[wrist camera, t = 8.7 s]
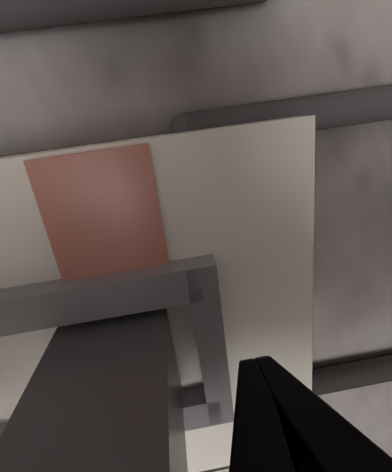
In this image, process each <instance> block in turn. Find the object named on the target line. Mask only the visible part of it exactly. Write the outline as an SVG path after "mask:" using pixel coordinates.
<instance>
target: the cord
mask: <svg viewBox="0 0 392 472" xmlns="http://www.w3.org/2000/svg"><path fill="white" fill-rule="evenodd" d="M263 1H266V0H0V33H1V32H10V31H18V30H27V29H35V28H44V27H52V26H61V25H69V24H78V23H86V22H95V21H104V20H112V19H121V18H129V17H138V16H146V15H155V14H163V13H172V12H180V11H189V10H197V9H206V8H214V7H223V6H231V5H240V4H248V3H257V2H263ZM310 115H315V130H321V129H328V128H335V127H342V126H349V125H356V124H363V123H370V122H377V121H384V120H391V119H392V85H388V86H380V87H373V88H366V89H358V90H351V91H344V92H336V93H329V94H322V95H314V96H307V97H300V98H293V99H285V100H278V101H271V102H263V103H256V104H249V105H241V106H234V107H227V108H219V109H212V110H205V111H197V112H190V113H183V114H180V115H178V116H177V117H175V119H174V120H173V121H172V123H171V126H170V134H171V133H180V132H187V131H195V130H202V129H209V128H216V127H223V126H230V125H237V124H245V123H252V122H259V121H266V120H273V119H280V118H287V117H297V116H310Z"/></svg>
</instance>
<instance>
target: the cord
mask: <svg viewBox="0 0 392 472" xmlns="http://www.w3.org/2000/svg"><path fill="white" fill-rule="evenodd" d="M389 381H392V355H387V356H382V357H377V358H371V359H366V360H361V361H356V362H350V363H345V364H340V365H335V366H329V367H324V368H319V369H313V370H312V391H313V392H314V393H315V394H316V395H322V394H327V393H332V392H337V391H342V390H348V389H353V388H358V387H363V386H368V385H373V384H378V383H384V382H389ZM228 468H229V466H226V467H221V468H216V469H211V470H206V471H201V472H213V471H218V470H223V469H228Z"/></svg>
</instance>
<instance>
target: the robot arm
mask: <svg viewBox="0 0 392 472" xmlns="http://www.w3.org/2000/svg"><path fill="white" fill-rule="evenodd" d="M229 472H392V458H391V457H390V456H389V455H388V454H387V453H385V452H384V451H383V450H382V449H381V448H379V447H378V446H377V445H376V444H375V443H373V442H372V441H371V440H370V439H369V438H367V437H366V436H365V435H364V434H363V433H361V432H360V431H359V430H358V429H357V428H355V427H354V426H353V425H352V424H351V423H350V422H348V421H347V420H346V419H345V418H344V417H342V416H341V415H340V414H339V413H338V412H336V411H335V410H334V409H333V408H332V407H330V406H329V405H328V404H327V403H326V402H324V401H323V400H322V399H321V398H320V397H318V396H317V395H316V394H315V393H314V392H313V391H311V390H310V389H309V388H308V387H307V386H305V385H304V384H303V383H302V382H301V381H299V380H298V379H297V378H296V377H295V376H293V375H292V374H291V373H290V372H289V371H287V370H286V369H285V368H284V367H283V366H281V365H280V364H279V363H278V362H277V361H275V360H274V359H273V358H272V357H271V356H268V355H267V356H261V357H256V358H255V359H254V358H250V359H245V360H240V361H239V367H238V378H237V389H236V400H235V411H234V422H233V433H232V444H231V455H230V466H229Z"/></svg>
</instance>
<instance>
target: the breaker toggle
mask: <svg viewBox="0 0 392 472" xmlns="http://www.w3.org/2000/svg"><path fill="white" fill-rule="evenodd" d="M0 472H188V467H187V454H186V440H185V427H184V414H183V401H182V387H181V380H180V375H179V370H178V365H177V360H176V355H175V350H174V345H173V339H172V334H171V329H170V324H169V319H168V314H167V309H166V308H164V309H158V310H153V311H147V312H141V313H135V314H129V315H124V316H118V317H112V318H106V319H101V320H95V321H89V322H83V323H77V324H72V325H66V326H60V327H57V329H56V331H55V333H54V334H53V336H52V338H51V340H50V342H49V344H48V346H47V348H46V350H45V352H44V354H43V355H42V357H41V359H40V361H39V363H38V365H37V367H36V369H35V371H34V373H33V375H32V376H31V378H30V380H29V382H28V384H27V386H26V388H25V390H24V392H23V394H22V396H21V398H20V399H19V401H18V403H17V405H16V407H15V409H14V411H13V413H12V415H11V417H10V419H9V420H8V422H7V424H6V426H5V428H4V430H3V432H2V434H1V436H0Z"/></svg>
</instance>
